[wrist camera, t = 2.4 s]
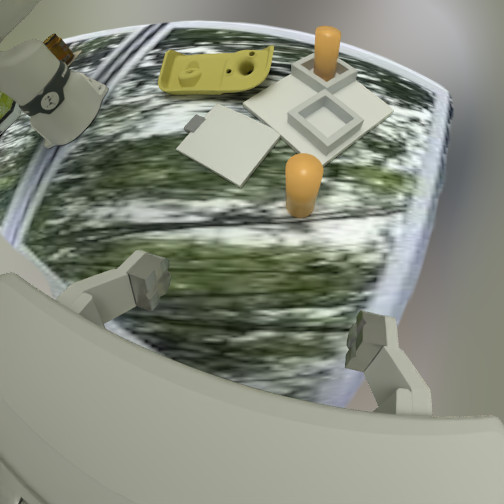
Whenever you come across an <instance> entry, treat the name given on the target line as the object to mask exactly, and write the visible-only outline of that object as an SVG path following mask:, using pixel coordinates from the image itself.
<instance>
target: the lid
mask: <svg viewBox="0 0 504 504" xmlns="http://www.w3.org/2000/svg"><path fill="white" fill-rule="evenodd" d="M184 129H185V131H186V132H188V133H189V135H188V136H187V137H186V138H185V139H184V140H183V141H182V143H181V144H180V145H179V146H178V147H177V151H178V152H180V153H181V154H183V155H185V156H187V157H189V158H190V159H192V160H194V161H196V162H197V163H199V164H201V165H202V166H204V167H206V168H208V169H209V170H211V171H213V172H214V173H216V174H218V175H220V176H221V177H223V178H225V179H226V180H228V181H230V182H231V183H233V184H235V185H236V186H238V187H240V188H242V186H243V185H244V184H245V182H246V181H247V180H248V178H249V177H250V176H251V175H252V173H253V172H254V171H255V169H256V168H257V167H258V166H259V164H260V163H261V162H262V161H263V159H264V158H265V157H266V156H267V154H268V153H269V152H270V151H271V149H272V148H273V147H274V146H275V144H276V143H277V142H278V141H279V140H280V138H281V136H280V134H279V133H277V132H276V131H275V130H274V129H273V128H271V127H269V126H266V125H264V124H262V123H260V122H258V121H256V120H254V119H252V118H250V117H247V116H245V115H243V114H241V113H238V112H236V111H234V110H232V109H229V108H227V107H225V106H222V105H220V104H216V105H215V106H214V107H213V109H212V110H211V111H210V112H209V113H208V114H207V115H206V116H205V117H204V118H203V117H201V116H199V115H195V116H194V117H193V118H192V119H191V120H190V121H189V123H188V124H187V125H186V126H185V127H184Z"/></svg>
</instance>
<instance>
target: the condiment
mask: <svg viewBox="0 0 504 504" xmlns="http://www.w3.org/2000/svg"><path fill="white" fill-rule="evenodd" d="M43 43H44V44H45V46H46V47H47V48H48V49H49V50H50V51H51V52H52V54H53V55H54V56H55V57H56V58H57V59H58V60H61V61H62V62H64V63H65V64H66V65H67V66H69V65H70V64H71V63H72V62H73V61H74V59H75V58H76V57H77V56H78V54H79V53H80V52H81V51H82V50H81V51H78V52H75V53H72V52H71V50H70V49H69V48H68V46H67V45H66V44H65V43H64V41H63V40H62V39H61V38H58V36H57V35H56V34H52V35H51V36H49V37H48V38H47V39H46V40H45V41H44V42H43ZM74 56H75V57H74Z"/></svg>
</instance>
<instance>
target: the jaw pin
mask: <svg viewBox="0 0 504 504" xmlns="http://www.w3.org/2000/svg"><path fill="white" fill-rule="evenodd" d="M322 175H323V166H322V164H321V162H320V161H319V160H318V159H317V158H316V157H315V156H313V155H311V154H307V153H300V154H296V155H294V156H292V157H291V158H290V159H289V160H288V162H287V164H286V208H287V210H288V212H289V213H290V214H291V215H292V216H294V217H296V218H305V217H307V216H309V215H310V214H311V213H312V211H313V209H314V205H315V202H316V198H317V194H318V191H319V187H320V183H321V179H322Z"/></svg>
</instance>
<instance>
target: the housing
mask: <svg viewBox="0 0 504 504" xmlns="http://www.w3.org/2000/svg"><path fill="white" fill-rule="evenodd" d="M340 38H341V32H340V31H339V30H338V29H336V28H333V27H330V26H320V27H318V28H316V35H315V53H313V54H311V55H309V56H307V57H305V58H303V59H301V60H299V61H297V62H295V63H293V64H291V71H292V74H290V75H288V76H286V77H285V78H283V79H281V80H279V81H278V82H276V83H274V84H272V85H271V86H269V87H267V88H266V89H264V90H262V91H261V92H259V93H257V94H256V95H254V96H253V97H251V98H250V99H248V100H246V101H245V102H243V107H244V108H246V109H247V110H248V111H249V112H250V113H252V114H253V115H254V116H255V117H257V118H258V119H259V120H260V121H261V122H263V123H264V124H265V125H266V126H269V127H271V128H273V129H274V130H275V131H276V132H277V133H279V134H280V136H281V139H282V140H283V141H284V142H286V143H287V144H288V145H289V146H290V147H291V148H292V149H293V150H294V151H295V152H296V153H298V154H300V153H307V154H311V155H313V156H315V157H316V158H317V159H318V160H319V161H320V162H321V164H322V166H323V167H324V166H325V165H327V164H328V163H329V162H330V161H332V160H333V159H334V158H336V157H337V156H338V155H339V154H341V153H342V152H343V151H344V150H346V149H347V148H348V147H350V146H351V145H352V144H353V143H355V142H356V141H357V140H359V139H360V138H361V137H363V136H364V135H365V134H366V133H368V132H369V131H370V130H372V129H373V128H374V127H376V126H377V125H378V124H379V123H381V122H382V121H383V120H385V119H386V118H387V117H389V116H390V115H391V114H392V113H393V111H394V110H393V109H392V108H391V107H389V106H388V105H387V104H386V103H385V102H383V101H382V100H381V99H380V98H378V97H377V96H376V95H375V94H373V93H372V92H371V91H369V90H368V89H367V88H366V87H364V86H363V85H362V84H360V83H359V82H357V81H356V76H357V70H356V69H354V68H353V67H351V66H350V65H348V64H347V63H345V62H344V61H342V60H341V59H339V58H338V53H339V46H340Z"/></svg>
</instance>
